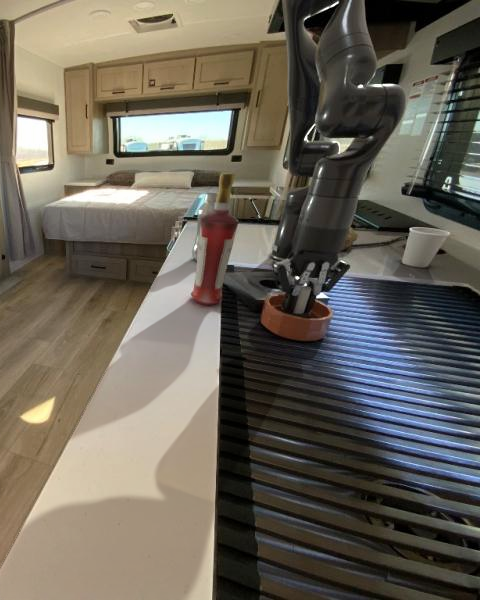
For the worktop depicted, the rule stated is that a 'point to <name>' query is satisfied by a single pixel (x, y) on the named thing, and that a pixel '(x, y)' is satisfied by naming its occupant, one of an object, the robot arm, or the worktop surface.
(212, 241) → the liquor
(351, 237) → the sponge
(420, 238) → the dixie cup
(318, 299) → the sink plate
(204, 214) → the plastic bottle
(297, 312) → the plug
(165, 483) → the worktop surface
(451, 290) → the worktop surface
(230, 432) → the worktop surface
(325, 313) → the bowl
